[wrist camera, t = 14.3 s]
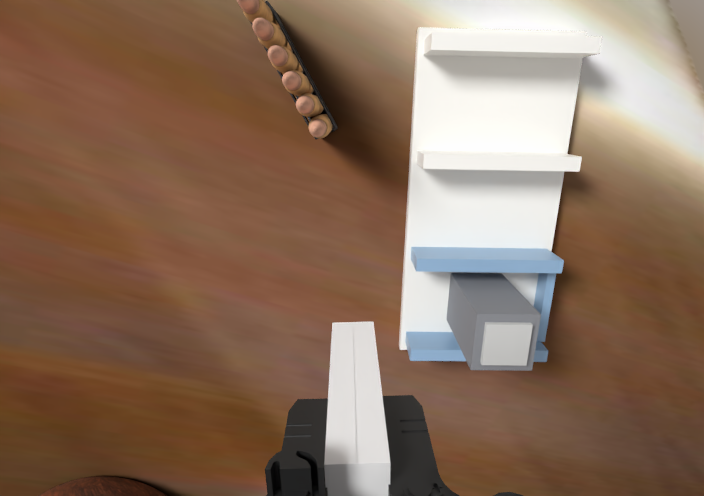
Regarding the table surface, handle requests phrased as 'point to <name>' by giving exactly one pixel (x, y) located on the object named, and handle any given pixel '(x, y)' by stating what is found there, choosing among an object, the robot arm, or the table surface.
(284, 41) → the ammunition clip
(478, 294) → the plug
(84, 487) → the wooden bowl
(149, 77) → the table surface
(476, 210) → the slotted holder tray
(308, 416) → the robot arm
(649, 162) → the table surface
